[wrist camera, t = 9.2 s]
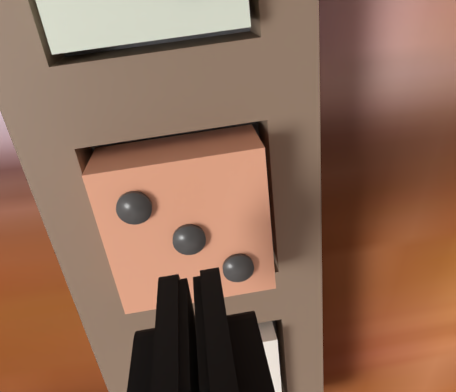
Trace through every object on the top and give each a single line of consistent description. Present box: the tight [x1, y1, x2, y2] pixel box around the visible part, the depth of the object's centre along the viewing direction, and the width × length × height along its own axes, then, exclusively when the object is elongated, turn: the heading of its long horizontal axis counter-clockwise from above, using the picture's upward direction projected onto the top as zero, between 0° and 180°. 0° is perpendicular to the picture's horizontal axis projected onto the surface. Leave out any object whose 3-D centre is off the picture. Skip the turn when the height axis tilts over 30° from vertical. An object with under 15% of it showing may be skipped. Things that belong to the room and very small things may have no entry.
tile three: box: [82, 124, 276, 314], centre depth 15 cm, size 6×6×3 cm
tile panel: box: [0, 0, 323, 392], centre depth 16 cm, size 30×10×3 cm, turn 7°
